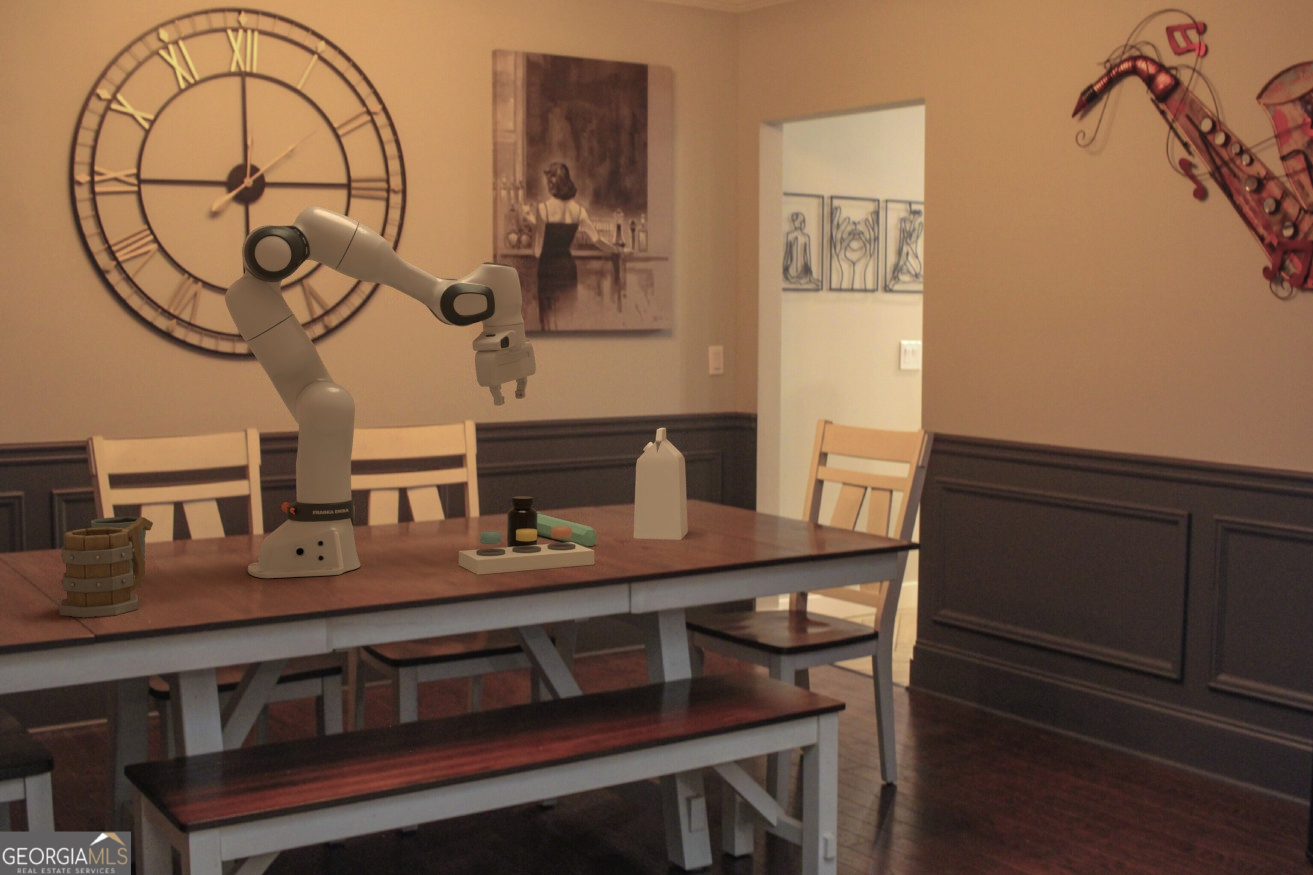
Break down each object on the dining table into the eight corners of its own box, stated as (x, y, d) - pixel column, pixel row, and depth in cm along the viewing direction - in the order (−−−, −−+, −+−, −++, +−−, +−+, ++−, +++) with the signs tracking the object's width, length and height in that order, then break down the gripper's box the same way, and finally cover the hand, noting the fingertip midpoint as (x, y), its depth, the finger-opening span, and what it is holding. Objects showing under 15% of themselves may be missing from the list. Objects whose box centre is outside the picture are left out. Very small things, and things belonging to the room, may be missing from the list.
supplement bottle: (532, 552, 286) (532, 499, 285) (503, 551, 287) (502, 498, 286) (541, 547, 292) (541, 495, 291) (512, 546, 294) (512, 494, 293)
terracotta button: (555, 539, 271) (555, 529, 271) (548, 536, 275) (548, 526, 275) (575, 537, 273) (575, 528, 273) (566, 534, 277) (566, 525, 277)
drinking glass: (89, 585, 248) (87, 524, 247) (96, 575, 258) (94, 516, 257) (145, 582, 251) (143, 522, 250) (150, 573, 260) (149, 514, 259)
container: (597, 521, 294) (540, 506, 314) (577, 532, 291) (521, 517, 311) (605, 543, 296) (547, 528, 316) (585, 555, 293) (528, 539, 313)
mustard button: (520, 541, 268) (520, 532, 268) (513, 538, 272) (513, 529, 271) (540, 540, 270) (540, 530, 270) (532, 537, 274) (532, 528, 273)
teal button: (484, 544, 264) (484, 535, 264) (477, 541, 268) (477, 532, 268) (504, 543, 266) (504, 533, 266) (497, 539, 270) (497, 530, 270)
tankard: (99, 620, 218) (96, 533, 217) (43, 614, 223) (40, 528, 222) (182, 597, 237) (180, 517, 235) (129, 592, 241) (127, 513, 240)
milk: (681, 539, 305) (681, 430, 303) (633, 538, 307) (633, 430, 304) (687, 531, 317) (688, 427, 314) (641, 530, 318) (642, 426, 316)
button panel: (477, 574, 260) (477, 557, 260) (458, 565, 270) (458, 548, 270) (594, 564, 272) (594, 547, 271) (571, 555, 282) (571, 539, 282)
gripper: (514, 333, 285) (520, 394, 287) (467, 343, 266) (473, 409, 268) (540, 332, 282) (545, 394, 285) (494, 342, 264) (500, 409, 266)
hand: (510, 401), depth 276 cm, fingers open, 8 cm apart
